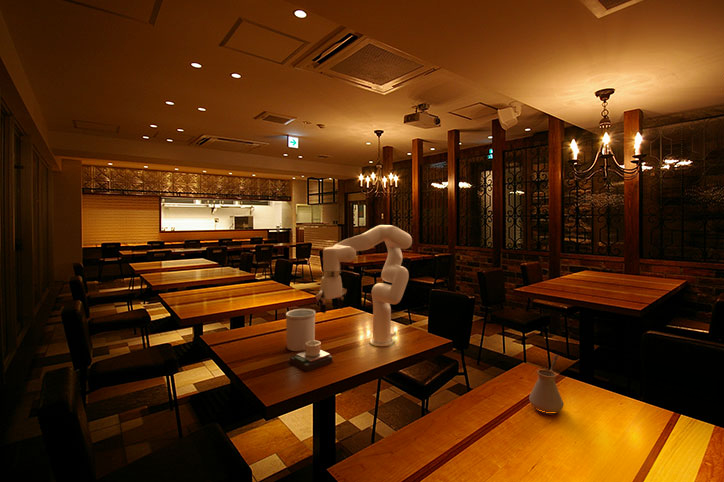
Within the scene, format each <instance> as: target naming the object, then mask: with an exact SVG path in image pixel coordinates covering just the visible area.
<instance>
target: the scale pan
mask: <svg viewBox="0 0 724 482" xmlns="http://www.w3.org/2000/svg"><path fill="white" fill-rule="evenodd" d="M295 356H299V357H301V358H303V359H305V360H307V361H308V362H313V361H316V360H319V359H322V358H324V357H327V356H331V353H329V352H327V351H324V350H323V349H321V350H320V354H319V355H317V356H307V355H306V350H304V351H300V352H299V353H296V354H295Z"/></svg>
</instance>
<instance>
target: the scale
mask: <svg viewBox="0 0 724 482" xmlns="http://www.w3.org/2000/svg"><path fill="white" fill-rule="evenodd" d="M331 363H333V356H332V355H330V356H327V357H324V358H322V359H319V360H316V361H313V362H308V361H307V360H305V359H303V358H301V357H299V356H296V355H294V356H291V357H289V364H291V365H293V366H294V367H297V368H299V369H301V370H302V371H305V372H308V371H312V370H315V369H317V368H320V367H323V366H325V365H329V364H331Z"/></svg>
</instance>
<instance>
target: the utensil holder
mask: <svg viewBox="0 0 724 482" xmlns="http://www.w3.org/2000/svg"><path fill="white" fill-rule="evenodd" d="M285 323H286V325H285V327H286V349H287V350H289V351H292V352H305V351H306V343H307V342H309V341H316V339H315V337H316V310H315V309H311V308H297V309H292V310H288V311H287V312H286V313H285Z"/></svg>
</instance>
